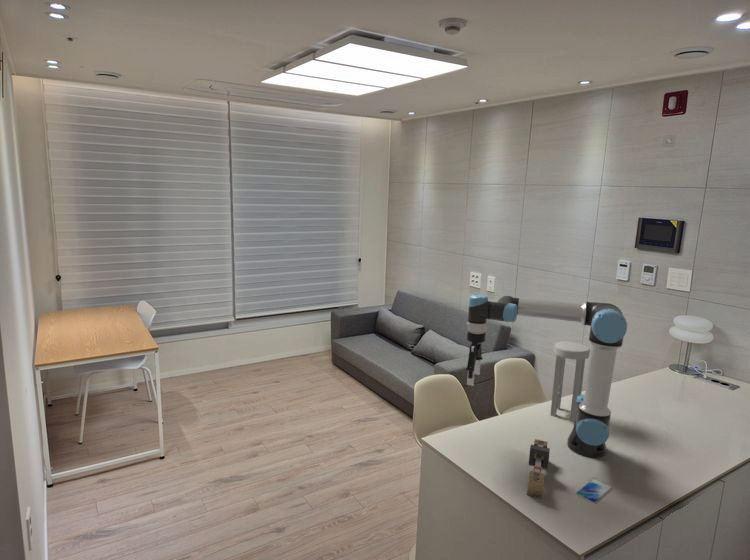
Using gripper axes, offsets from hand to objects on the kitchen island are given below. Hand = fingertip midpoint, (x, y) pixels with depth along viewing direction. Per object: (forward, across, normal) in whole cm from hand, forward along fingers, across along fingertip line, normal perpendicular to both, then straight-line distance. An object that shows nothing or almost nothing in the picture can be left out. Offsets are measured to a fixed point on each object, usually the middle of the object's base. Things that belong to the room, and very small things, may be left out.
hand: (473, 379), depth 204 cm
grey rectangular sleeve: (+24, +15, +29) cm, 41 cm away
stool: (+28, -45, +38) cm, 65 cm away
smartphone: (+28, +18, +49) cm, 60 cm away
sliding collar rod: (+28, +18, +29) cm, 44 cm away
